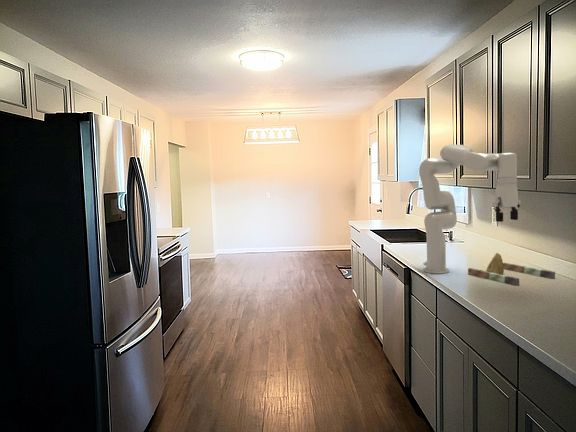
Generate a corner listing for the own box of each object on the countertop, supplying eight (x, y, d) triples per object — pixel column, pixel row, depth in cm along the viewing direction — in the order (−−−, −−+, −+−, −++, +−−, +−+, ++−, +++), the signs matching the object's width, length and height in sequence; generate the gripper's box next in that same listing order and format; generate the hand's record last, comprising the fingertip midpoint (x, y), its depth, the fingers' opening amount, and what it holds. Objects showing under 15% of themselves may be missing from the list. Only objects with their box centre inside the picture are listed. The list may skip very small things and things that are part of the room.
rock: (509, 271, 219) (509, 264, 227) (497, 257, 219) (498, 251, 228) (490, 282, 224) (490, 275, 232) (479, 269, 225) (480, 263, 233)
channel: (468, 274, 226) (468, 268, 225) (504, 268, 236) (504, 262, 236) (516, 285, 200) (516, 279, 200) (554, 278, 210) (555, 271, 210)
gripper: (512, 180, 200) (511, 218, 201) (486, 182, 192) (486, 221, 193) (527, 180, 193) (527, 219, 195) (501, 182, 185) (501, 222, 187)
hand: (506, 220), depth 194 cm, fingers open, 9 cm apart
